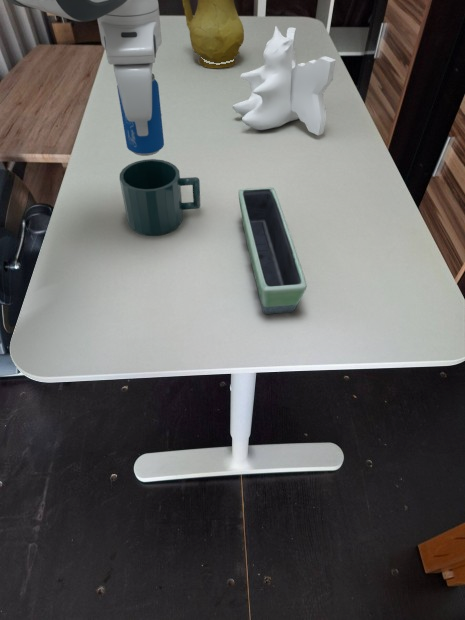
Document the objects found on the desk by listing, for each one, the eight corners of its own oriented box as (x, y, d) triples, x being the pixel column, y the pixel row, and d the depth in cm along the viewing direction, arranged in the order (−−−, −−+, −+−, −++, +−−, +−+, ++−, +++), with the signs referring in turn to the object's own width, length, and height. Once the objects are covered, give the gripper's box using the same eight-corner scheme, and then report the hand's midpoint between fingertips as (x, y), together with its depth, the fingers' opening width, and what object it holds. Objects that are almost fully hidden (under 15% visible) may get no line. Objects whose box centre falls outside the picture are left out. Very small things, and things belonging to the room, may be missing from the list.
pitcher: (214, 74, 139) (212, -25, 122) (178, 61, 149) (172, -33, 132) (254, 64, 147) (257, -31, 130) (218, 51, 157) (216, -38, 140)
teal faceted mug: (127, 238, 86) (118, 193, 78) (128, 204, 93) (120, 160, 86) (203, 232, 87) (202, 187, 80) (198, 199, 95) (196, 156, 87)
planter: (236, 219, 90) (237, 188, 85) (271, 216, 91) (274, 186, 86) (258, 321, 72) (261, 290, 67) (302, 317, 73) (308, 286, 68)
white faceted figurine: (222, 107, 125) (222, 19, 109) (292, 98, 130) (302, 13, 114) (253, 150, 109) (258, 55, 93) (331, 138, 114) (348, 46, 98)
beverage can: (119, 152, 78) (107, 79, 69) (141, 136, 82) (132, 66, 73) (150, 161, 76) (141, 88, 67) (171, 145, 80) (165, 74, 71)
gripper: (110, 10, 72) (124, 98, 82) (105, 55, 58) (122, 154, 68) (150, 9, 72) (159, 96, 83) (154, 54, 59) (164, 152, 69)
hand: (142, 123), depth 75 cm, fingers closed on beverage can, 6 cm apart
